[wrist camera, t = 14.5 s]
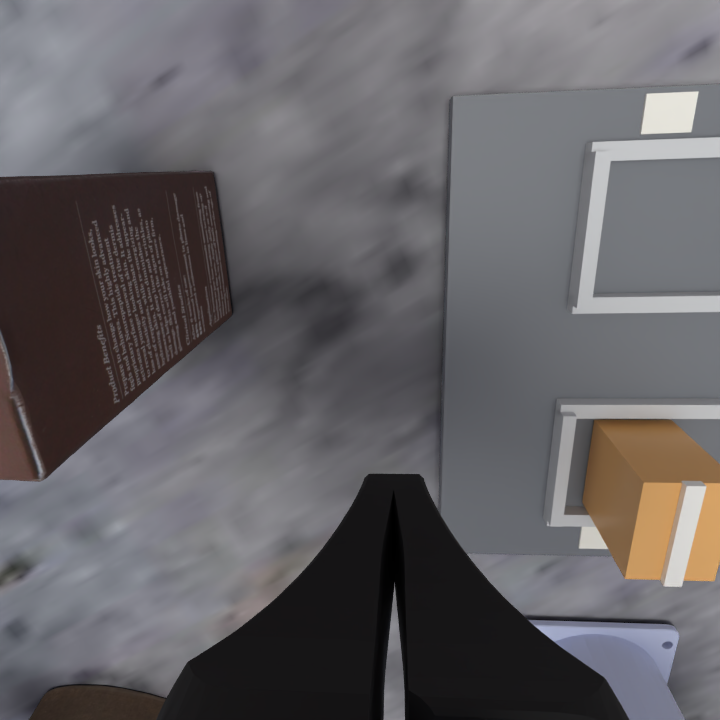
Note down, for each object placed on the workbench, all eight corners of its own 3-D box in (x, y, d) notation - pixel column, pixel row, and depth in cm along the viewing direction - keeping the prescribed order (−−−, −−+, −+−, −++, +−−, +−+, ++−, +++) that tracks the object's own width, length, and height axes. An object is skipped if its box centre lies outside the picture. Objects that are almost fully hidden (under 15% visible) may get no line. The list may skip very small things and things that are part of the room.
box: (103, 174, 20) (-285, 181, 8) (217, 169, 19) (-33, 170, 8) (134, 322, 22) (-147, 486, 11) (236, 321, 21) (59, 488, 10)
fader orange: (653, 504, 22) (718, 588, 17) (582, 503, 22) (627, 585, 18) (671, 418, 20) (746, 486, 16) (594, 418, 20) (647, 485, 16)
